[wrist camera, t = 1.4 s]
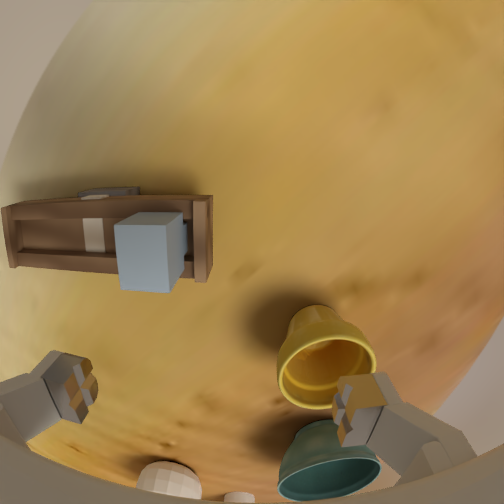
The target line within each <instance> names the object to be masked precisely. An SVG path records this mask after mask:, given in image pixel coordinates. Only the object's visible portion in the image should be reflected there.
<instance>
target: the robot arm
mask: <svg viewBox="0 0 504 504" xmlns="http://www.w3.org/2000/svg"><path fill="white" fill-rule="evenodd" d="M92 369H93V367H92V364H91V361H90V360H89V359H87V358H84V357H80V356H76V355H72V354H68V353H63V352H60V351H56V350H53V351H50V352H49V353H48V354H47V355H46V356H45V358H44V359H43V360H42V361H41V362H40V363H39V364H38V365H37V366H36V367H35V368H34V369H33V370H32V371H31V372H30V374H28V373H25V374H22V375H19V376H16V377H14V378H11V379H8V380H5V381H3V382H0V504H504V444H502V445H500V446H498V447H496V448H494V449H492V450H490V451H488V452H486V453H484V454H482V455H480V456H478V457H477V455H476V454H475V452H474V450H473V449H472V447H471V445H470V444H469V442H468V440H467V439H466V437H465V436H464V434H463V433H462V431H460V430H458V429H456V428H454V427H452V426H451V425H448V424H447V423H445V422H443V421H441V420H439V419H437V418H435V417H433V416H432V415H430V414H428V413H426V412H424V411H422V410H421V409H419V408H417V407H415V406H413V405H411V404H410V403H408V402H406V403H403V401H402V399H401V398H400V396H399V394H398V392H397V391H396V389H395V387H394V386H393V384H392V382H391V380H390V379H389V377H388V375H387V374H386V373H385V372H377V373H370V374H362V375H350V376H340V378H339V380H338V383H337V388H338V391H339V392H338V393H337V394H336V395H334V398H333V403H332V415H333V420H334V423H336V424H337V425H338V426H339V428H338V431H337V434H338V438H339V441H340V445H341V447H350V446H359V445H366V446H367V447H368V448H369V449H370V450H372V451H373V452H374V453H375V454H376V455H377V456H378V457H380V458H381V459H382V460H383V461H384V462H385V463H387V464H388V465H389V466H390V467H391V468H392V469H394V470H395V471H396V472H397V473H398V474H399V475H401V478H400V479H399V480H398V482H397V483H396V484H395V485H394V486H393V487H389V488H385V489H381V490H376V491H371V492H367V493H361V494H356V495H351V496H344V497H337V498H330V499H322V500H312V501H300V502H282V503H241V502H222V501H210V500H201V499H192V498H185V497H178V496H172V495H166V494H161V493H155V492H151V491H146V490H141V489H137V488H133V487H129V486H125V485H121V484H117V483H114V482H110V481H107V480H104V479H101V478H97V477H94V476H91V475H88V474H86V473H83V472H80V471H77V470H74V469H72V468H69V467H67V466H64V465H62V464H59V463H57V462H55V461H52V460H50V459H48V458H45V457H43V456H41V455H39V454H37V453H35V452H33V451H31V450H30V448H29V447H28V445H27V444H26V442H27V441H28V440H30V439H32V438H33V437H35V436H36V435H38V434H40V433H41V432H43V431H44V430H46V429H47V428H49V427H51V426H52V425H54V424H55V423H57V422H58V421H60V420H61V418H62V419H65V420H68V421H72V422H75V423H79V424H82V422H83V420H84V419H85V417H86V415H87V414H88V412H89V411H88V407H87V406H89V405H91V404H93V403H94V402H95V400H96V398H97V394H98V383H97V380H96V378H95V377H94V376H93V375H92V373H91V371H92Z"/></svg>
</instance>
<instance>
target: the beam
mask: <svg viewBox="0 0 504 504" xmlns="http://www.w3.org/2000/svg"><path fill="white" fill-rule="evenodd" d="M138 212H183V222H187V243H188V251H187V252H186V254H185V255H184V270H183V272H182V274H181V275H180V277H179V278H193V279H195V282H201V283H206V282H207V279H208V276H209V274H210V271H211V269H212V266H213V195H140V187H116V188H95V189H91V190H87V191H83V192H79V193H78V197H76V198H58V199H44V200H30V201H22V202H19V203H15V204H12V205H9V206H5V207H2V208H1V214H2V223H3V231H4V238H5V244H6V250H7V256H8V261H9V266H10V268H16V267H18V266H25V267H36V268H47V269H58V270H70V271H82V272H96V273H109V274H119V272H118V264H117V255H116V245H115V233H114V225H115V224H116V223H118V222H120V221H122V220H124V219H126V218H128V217H130V216H132V215H134V214H136V213H138Z"/></svg>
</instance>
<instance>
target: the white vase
mask: <svg viewBox="0 0 504 504" xmlns="http://www.w3.org/2000/svg"><path fill="white" fill-rule="evenodd" d="M136 488H137V489H141V490H146V491H151V492H155V493H161V494H166V495H172V496H178V497H185V498H192V499H201V494H202V488H201V484H200V481H199V478H198V477H197V476H196V475H195V474H194V473H193V472H192V471H191V470H190V469H189V468H187V467H185V466H183V465H180V464H177V463H174V462H168V461H158V462H154V463H151V464H149V465H147V466H146V467H145V468H144V469H143V470H142V471H141V474H140V476H139V479H138V482H137V485H136Z"/></svg>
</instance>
